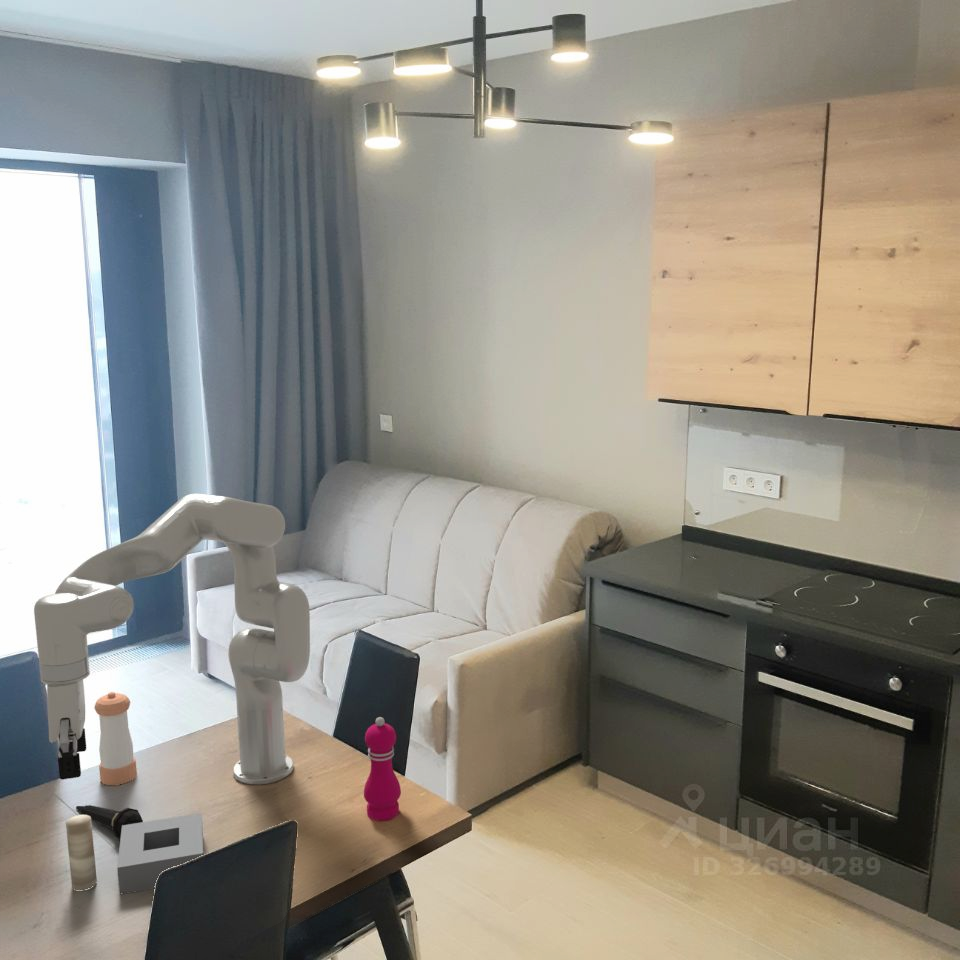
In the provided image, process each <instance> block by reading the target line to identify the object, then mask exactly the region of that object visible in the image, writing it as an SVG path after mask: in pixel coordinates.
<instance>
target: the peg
mask: <svg viewBox="0 0 960 960" xmlns="http://www.w3.org/2000/svg"><path fill="white" fill-rule="evenodd" d="M92 824H93V823H92V819H91V817H90V816H88V815H83V814H78V815H74V816H72V817H70V818H68V819H67V820H66V822H65V826H66V827H65V829H66V838H67V840H66V841H67V849H68V850H67V851H68V860H69V871H70V878H71V889H72V888H73V889H75V890H85V889H88V888H91V887H92V886H94V885H95V884H96V882H97V883H98V880H97V878H98V877H97V869H96V857H95V845H94V834H93V825H92ZM96 885H97V884H96ZM96 885H95V886H96ZM95 886H94V887H95ZM73 889H72V890H73ZM91 889H92V888H91ZM75 890H74V891H75Z"/></svg>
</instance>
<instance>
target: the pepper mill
mask: <svg viewBox="0 0 960 960" xmlns="http://www.w3.org/2000/svg"><path fill="white" fill-rule="evenodd" d="M364 742H365V744H366V746H367V748H368V749H367V753H368V754H367V756H368V758H369V759H370V772H369V775H368V777H367V779H366V782H365V784H364V789H363V798H364V799H365V801H366V802H367V804H366V815H367V817H368V818H369V819H371V820H373V821H377V822H378V821H380V822H384V821H385V820H386V821H389V820H393V819H394V818H396V817H397V816H398V814H399V812H400V811H399V810H400V805H399V799H400V797H401V794H402V793H401V792H402V790H401V785H400V781H399V779H398V778H397V775H396V773H395V771H394V767H393V763H392V762H393V760H392V759H393V757H394V755H395V752H394V751H395V747H394V745H395V743H396V742H397V734H396V731H395V729H394V728H393V726H391V725H390V724H388V723H385V719H384V717H383V716H382V717H381V716H379V717H376V719H375V723H374V724H372V725H370V726H369V727H368V728H367V730H366V731H365V735H364Z"/></svg>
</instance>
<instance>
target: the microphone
mask: <svg viewBox="0 0 960 960" xmlns="http://www.w3.org/2000/svg"><path fill="white" fill-rule="evenodd" d="M75 809H76V810H77V809H78V810H77V811H79V812H80V813H81V815H88V816H90V817H91V821H94V822H96V823H99V824H100V825H103V826H105V827H108V828H109V829H112V831H113V834H114V835H115V837H116V838H118V839H121V830H122V825H128V824H135V823H141V822H144V820H143V818H142V816H141V814H140V812H139V810H138V809H135V808H131V807H126V808H124V809H122V810H120V811H119V810H114V809H111V808H110V809H109V808H105V807H100V806H96V805H90V804H88V805H77V806H76V807H75Z"/></svg>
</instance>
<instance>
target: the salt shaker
mask: <svg viewBox="0 0 960 960" xmlns="http://www.w3.org/2000/svg"><path fill="white" fill-rule="evenodd" d="M130 705H131V701H130V698H129V697H128V696H127V694H125V693H119V692H114V691H110V692H108V693H107V694H105V695H102V696H101V697H99V698H98V699H97V700H96V702H95V704H94V711H95V712H96V714H97V715H98V717H99V729H100V737H99V752H98V753H99V758H100V759H99V760H100V763H99V765H98V766H99V769H98V770H99V780H101V781H100V783H101V782H102V783H104V784H106V785H105V786H108V785H116V786H121V785H120V784H122V785H124V784H123V783H125V784H128V783H130V782H132V781H133V780H135V779H136V777H137V776H136V775H137V774H138V772H137V770H138V769H137V760H136V758H135V756H134V744H133V739H132V736H131V732H130V728H129V719H128V710H129V708H130ZM132 779H133V780H132ZM131 780H132V781H131ZM129 781H130V782H129ZM127 782H128V783H127ZM102 783H101V784H102ZM104 784H103V785H104Z"/></svg>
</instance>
